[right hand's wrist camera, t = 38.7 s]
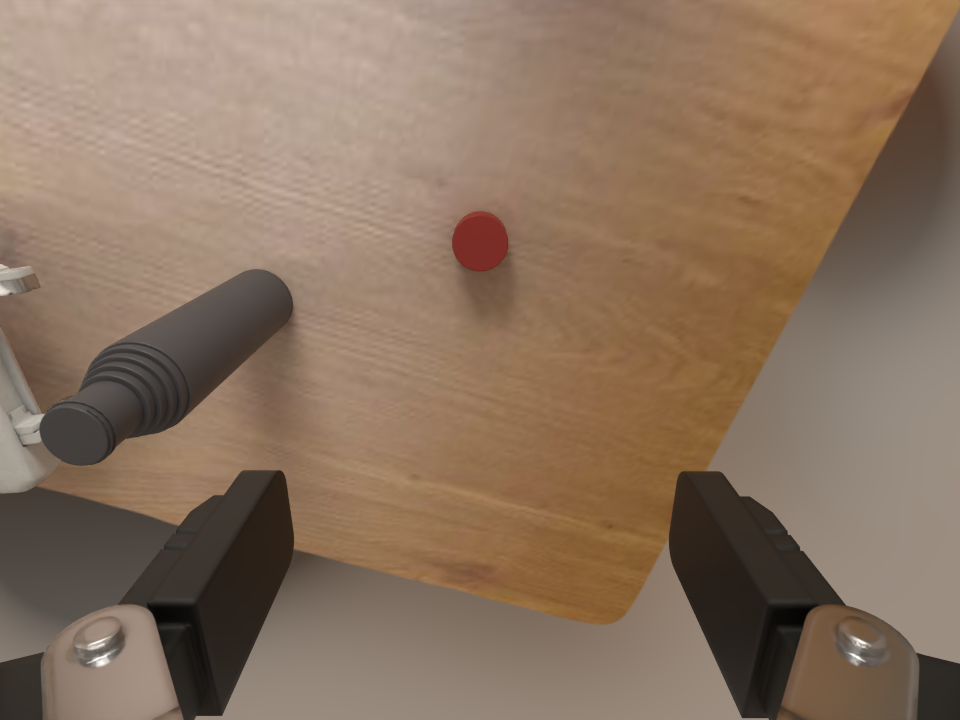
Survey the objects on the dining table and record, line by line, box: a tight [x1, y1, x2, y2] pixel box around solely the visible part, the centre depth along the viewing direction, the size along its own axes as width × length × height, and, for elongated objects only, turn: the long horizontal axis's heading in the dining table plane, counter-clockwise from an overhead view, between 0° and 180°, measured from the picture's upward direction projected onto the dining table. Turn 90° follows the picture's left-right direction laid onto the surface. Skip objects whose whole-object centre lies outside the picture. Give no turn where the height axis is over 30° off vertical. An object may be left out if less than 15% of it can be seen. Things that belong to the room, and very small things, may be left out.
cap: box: [452, 212, 508, 271], centre depth 42 cm, size 4×4×2 cm
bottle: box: [39, 270, 293, 465], centre depth 34 cm, size 5×5×22 cm
